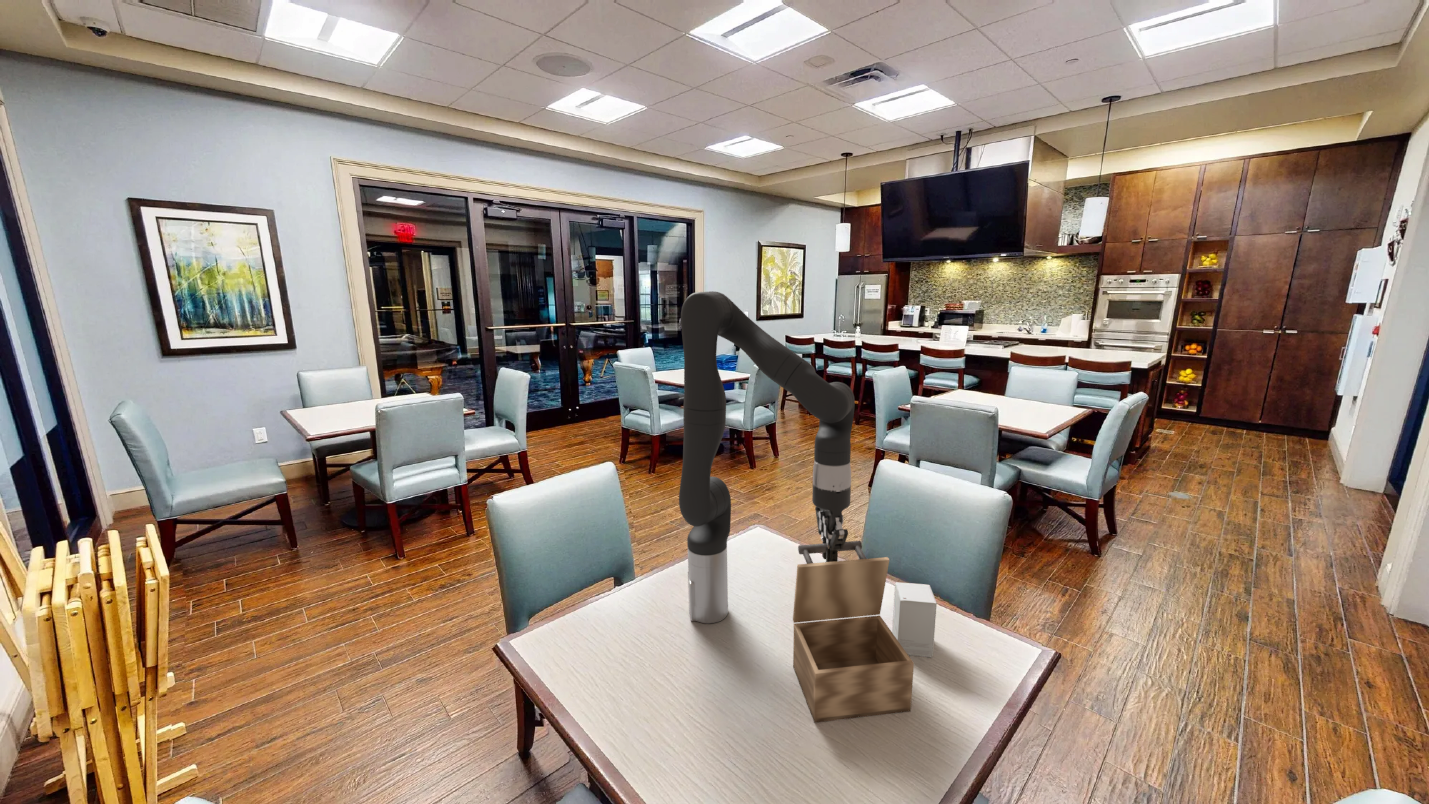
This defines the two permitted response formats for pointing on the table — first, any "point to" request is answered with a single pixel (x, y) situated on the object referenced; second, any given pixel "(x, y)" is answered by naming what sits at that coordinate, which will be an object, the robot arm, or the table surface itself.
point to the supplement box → (914, 618)
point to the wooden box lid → (838, 585)
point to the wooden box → (851, 668)
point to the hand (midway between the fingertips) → (829, 560)
